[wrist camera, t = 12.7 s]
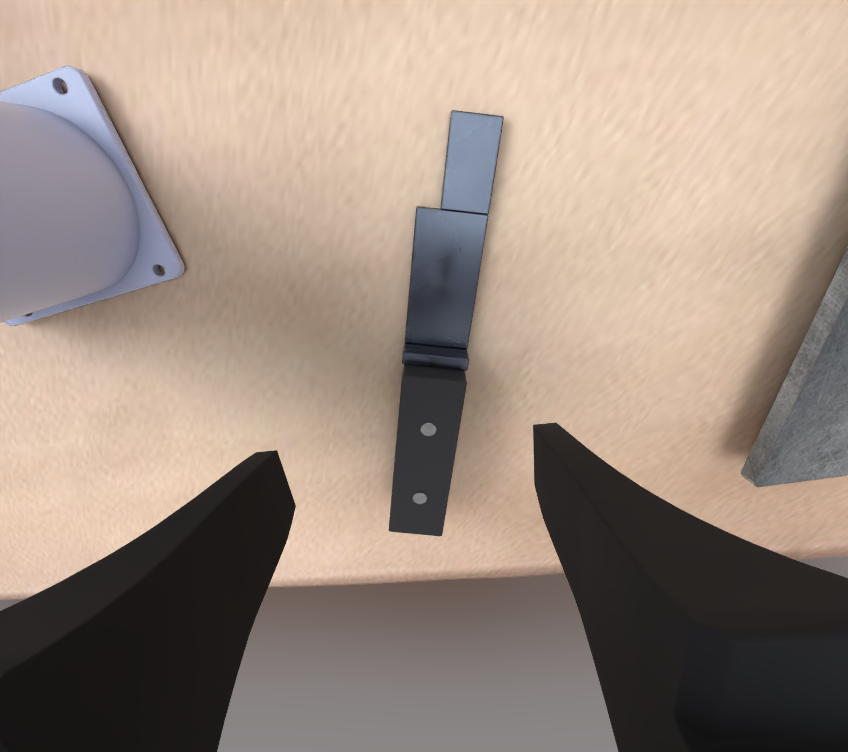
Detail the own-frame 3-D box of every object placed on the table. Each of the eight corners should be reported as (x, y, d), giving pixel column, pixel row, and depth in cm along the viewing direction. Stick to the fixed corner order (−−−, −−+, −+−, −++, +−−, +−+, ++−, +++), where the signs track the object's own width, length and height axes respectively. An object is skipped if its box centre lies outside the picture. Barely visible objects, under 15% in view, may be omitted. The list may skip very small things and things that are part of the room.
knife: (442, 499, 24) (444, 538, 21) (391, 494, 24) (386, 533, 21) (502, 117, 16) (516, 104, 13) (425, 108, 16) (423, 93, 13)
